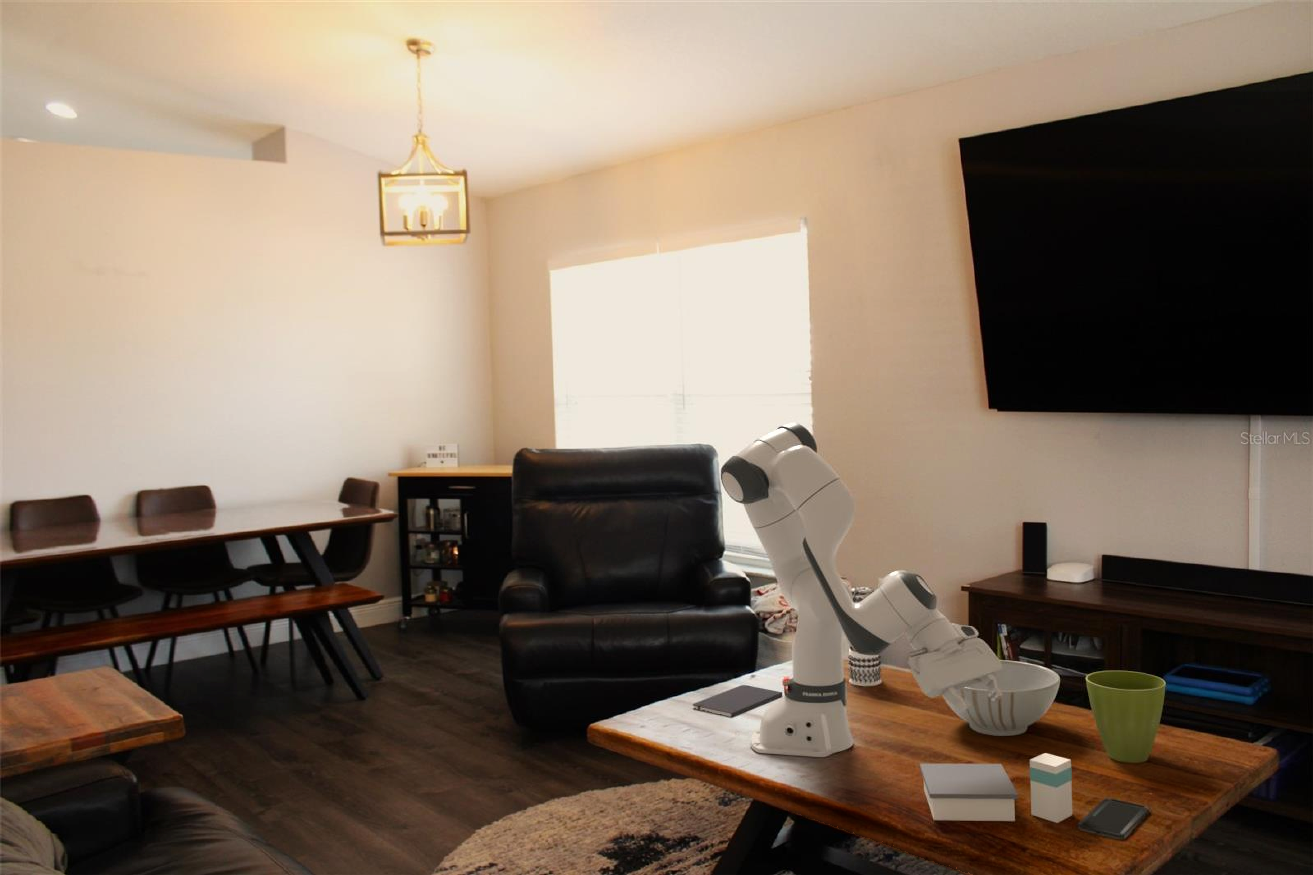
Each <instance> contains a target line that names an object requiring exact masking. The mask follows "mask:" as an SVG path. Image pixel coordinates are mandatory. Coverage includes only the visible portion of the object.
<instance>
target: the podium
mask: <svg viewBox="0 0 1313 875" xmlns="http://www.w3.org/2000/svg"><path fill="white" fill-rule="evenodd" d="M919 769H920V773H921V775H922V778H923V791H924V794H925V797H926V800H927V803H928V806H929V809H930V813H931V816H932V818H933V821H968V822H969V821H972V822H973V821H974V822H975V821H976V822H977V821H978V822H979V821H980V822H981V821H983V822H987V821H988V822H989V821H990V822H992V821H993V822H994V821H995V822H1016V818H1015V817H1016V815H1015V814H1016V811H1015V809H1016V808H1015V800H1019V794H1018V792H1017V790H1016V788H1015V786H1014V785H1013V783H1012V781H1011V779H1010V777H1009V775H1008V774H1007V772H1006V770H1005V768H1004V766H1003V765H1002V763H919Z"/></svg>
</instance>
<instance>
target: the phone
mask: <svg viewBox="0 0 1313 875" xmlns="http://www.w3.org/2000/svg"><path fill="white" fill-rule="evenodd" d="M1146 815H1147V816H1148V815H1150V808H1149V807H1148V806H1145V805H1141V804H1137V803H1132V802H1128V801H1123V800H1119V799H1115V798H1103V799H1102V800H1101V801H1100V802H1099V803H1098V804H1097V805H1096V806H1095V807H1094V808H1093V809H1092V810H1091V811H1090V812H1089V813H1088V814H1086V815H1085V816H1084V817H1083V818H1081V820H1080V821H1078V823H1077V824H1078V825H1077V826H1078V829H1079V830H1080V831H1082V832H1086V833H1089V834H1090V833H1091V834H1094V835H1099V836H1103V837H1108V838H1111V839H1116V840H1126V838H1127V837H1128V836H1130V834H1131V833H1132V832H1133V831H1134V830H1135V829H1136V828H1137V827H1138V826H1139V825H1140V824H1139V823H1142V821H1143V820H1145V819H1146V817H1147V816H1146ZM1145 816H1146V817H1145ZM1142 819H1143V820H1142ZM1141 820H1142V821H1141ZM1138 824H1139V825H1138ZM1137 825H1138V826H1137ZM1136 826H1137V827H1136ZM1135 827H1136V828H1135ZM1134 828H1135V829H1134ZM1133 829H1134V830H1133ZM1132 830H1133V831H1132ZM1131 831H1132V832H1131Z"/></svg>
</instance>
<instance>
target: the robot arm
mask: <svg viewBox="0 0 1313 875" xmlns="http://www.w3.org/2000/svg"><path fill="white" fill-rule="evenodd" d="M721 466H722V467H721V469H720V480H721V484H722V486H723V489H724V490H725V492H726V493H727V495H728V496H729V497H730V498H731V499H732V500H733V501H735V502H736V503H739V504H742V505H743V507H744V510H745V512H746V514H747V518H748V519H749V521H750V523H751V526H752V528H753V529H754V532H755V533H756V535H757V537H758V540H759V542H760V543H761V545H762V547H763V549H764V551H765V553H766V555H767V557H768V560H769V561H770V562H769V563H770V564H771V567H772V571H773V573H774V575H775V578H776V581H777V584H778V586H779V589H780V593H781V595H782V597H783V598H784V600H785V602H786V604H787V605H788V606H789V607H791V608H792V609H793V610H795V611H796V613H797V623H796V624H797V625H796V630H795V631H796V632H795V636H794V639H793V641H792V644H791V657H792V658H791V662H792V663H791V664H792V678H790V676H784V677H783V678H782V686H783V692H784V693H783V694H784V696H782V697H780V699H779V700H777V701H776V702H775V703H774V704H772V705H771V706H769V707H768V708H766V710H765V711H764V713H763V715H762V718H761V721H760V728H759V729H757V730H755V731H754V732H753V733H752V735H751V737H750V747H751V749H752V750H753V751H755V752H756V753H758V754H770V755H771V754H773V755H785V756H786V755H787V756H798V757H799V756H801V757H813V758H825V757H828V756H831V755H832V754H835V753H838V752H843V751H845V750H848V749H850V748H851V747H852V746H853V745H854V739H853V736H852V733H851V730H850V726H849V721H848V720H849V719H848V714H847V707H846V705H847V701H848V693H847V692H848V691H847V689H848V688H847V682H846V678H844V655H843V654H844V652H843V649H844V647H843V646H844V644H843V643H844V638H845V639H846V641H847V643H848V644H849V646H850V645H851V647H852V648H853V649H854V650H856V651H857V652H858V653H859V654H863V655H880V654H881V653H883V652H884V651H885V650H887V648H889V646H890V645H892V643H893V642H894V641H896V640H897V639H899V638H900V637H901V636H903V634H905V635H906V638H907V639H908V640H907V641H908V643H909V644H910V647H912V649H913V651H910V652H908V653H907V656H906V663H907V665H908V666H909V668H910V670H911V673H912V675H913V677H914V680H915V682H916V683H917V684H918V686H919V687H920V689H921V691H922V693H923V694H924V695H925V696H926V697H928V698H930V699H933V698H936V697H939V696H942V697H943V696H944V697H945V699H946V700H948V701H950V702H951V703H953V704H954V705H956V706H957V708H958V709H959V710H960V712H965V711H967V710H969V708H971V705H970V703H968V700H967V699H966V698H965V699H963V698H961V697H960V696H959V695H958V694H956V693H955V692H956V690H958V689H961V688H964V687H967V686H970V685H973V684H976V683H979V682H982V683H983V684H984V685H985V686H988V689H989V693H988V696H989V697H990V698H991V700H992V701H996V700H999V699H1000V698H1001V697H1002V693H1001V692H1000V690H999V689H998V686H997V682H996V678H995V676H996V675H997V674H998V673H999V672H1000V671H1001V669H1002V666H1001V662H1000V661H999V660H1000V659H999V658H998V657H997V655H996V653H995V652H994V651H993V650H992V649H991V647H990V646H989V644H988V643H986V642H985V641H984V640H983V639H981V638H979V637H978V636H979V635H980V634H979V631H978V630H977V629H976V628H975V627H974V626H972V625H971V626H970V625H962V624H957V623H955V622H954V623H952V622H950V620H949V619H948V618H947V617H946V616H945V615H944V614H943V613H941V612H940V610H939V608H938V607H937V604H938V603H937V598H938V597H937V596H936V595H935V593H934V591H932V590H931V588H930V586H928V584H927V582H926V581H925V579H924V578H923V577H922V576H921V575H919V574H917V573H912V572H908V571H906V570H902V569H900V570H896V571H893V572H891V573H888V574H887V575H886V576H884V577H883V578H882V579H881V580H880V582H879V583H878V585H877V589H875V590H874V592H873V593H871V594H870V595H869V596H867V597H866V598H865V599H863V600H862V601H861V602H859V603H854V602H853V597H852V593H851V591H850V590H851V589H850V587H849V585H847V583H846V582H845V581H844V580H843V578H842V577H841V576H840V574H839V573H838V570H837V567H836V556H837V552H838V550H839V549H840V548H839V547H840V546H841V545H842V542H843V541H844V539H845V538H846V536H847V534H848V532H849V531H850V529H851V527H852V526H853V523H854V520H855V518H856V512H857V507H856V505H857V504H856V500H855V497H854V496H853V493H852V492H851V491H850V489H849V487H848V486H847V484H846V483H845V482H844V481H843V480H842V478H841V477H840V476H839V475H838V473H837V472H836V470H834V469H833V468H832V467H831V465H829V463H828V462H827V461H826V460H825V459H823V457H822V456H820V455H819V454H818V445H817V441H816V440H815V438H814V436H813V434H812V433H811V432H810V430H808V429H807V428H806V427H805V426H803V425H802V424H800V423H797V422H789V423H786V424H784V425H781V426H778V428H776V429H775V430H773V431H771V432H769V433H766V434H764V435H763V436H761V437H759V438H757V439H755V440H754V441H753V442H752V443H751V444H749V445H748V446H746V447H745V448H744V449H743V450H741V451H740V452H739V453H737V454H736V455H733V456H731V457H730V458H729V459H727V461H725V463H724V464H722V465H721ZM944 697H943V698H944ZM945 699H944V700H945ZM946 700H945V701H946Z"/></svg>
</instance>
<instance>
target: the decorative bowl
mask: <svg viewBox="0 0 1313 875" xmlns="http://www.w3.org/2000/svg"><path fill="white" fill-rule="evenodd" d="M999 661H1000V662H1001V666H1002V669H1001V671H1000V672H999V673H998V674H997V675H996V676H995V678H996V682H997V686H998V689H999V690H1000V692H1001V693H1002V697H1001V698H1000V699H999V700H996V701H992V700H991V698H990V697H989V696H988V693H989V689H988V686H985V685H984V684H983V683H982V682H979V683H976V684H973V685H970V686H967V687H964V688H961V689H958V690H956V692H955V693H956V694H958V695H959V696H960V697H961V698H963V699H965V698H966V699H967V700H968V703H970V705H971V708H969V710H967V711H965V712H960V710H959V709H958V708H957V706H956V705H954V704H953V703H951V702H950V701H948V700H946V699H945V697H944V696H943V695H942V697H943V699H944V700H945V702H946V704H947V705H948V706H949V708H950V709H951V710H952V711H953V712H954V713H955V715H957V716H958V717H959V718H961V719H963V721H966V722H967V723H969V728H971V729H972V731H975V732H977V733H979V734H984V735H989V736H996V737H1000V736H1001V737H1007V736H1009V737H1012V736H1017V735H1018V736H1019V735H1022V734H1024V733H1025V732H1026V731H1027V730H1028V726H1030V725H1033V724H1034V723H1036V722H1037V721H1038V720H1040V719H1041V718H1042V717H1043V716H1044V715H1045V714H1046V713H1047V711H1048V710H1049V709H1050V708H1051V706H1052V705H1053V702H1054V701H1055V699H1056V696H1057V694H1058V691H1059V688H1060V683H1061V678H1060V675H1059V674H1058V673H1056V672H1055V670H1052V669H1050V668H1048V667H1044V666H1041V665H1038V664H1034V663H1029V662H1023V661H1014V660H1007V659H1005V660H1003V659H999Z"/></svg>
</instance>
